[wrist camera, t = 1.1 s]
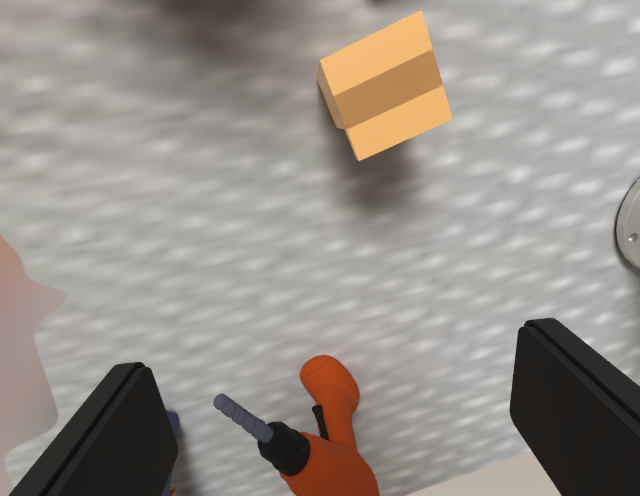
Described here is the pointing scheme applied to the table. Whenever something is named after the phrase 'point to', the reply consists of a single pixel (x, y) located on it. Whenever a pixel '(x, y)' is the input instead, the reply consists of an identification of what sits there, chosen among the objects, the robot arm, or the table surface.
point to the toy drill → (309, 450)
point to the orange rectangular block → (385, 87)
